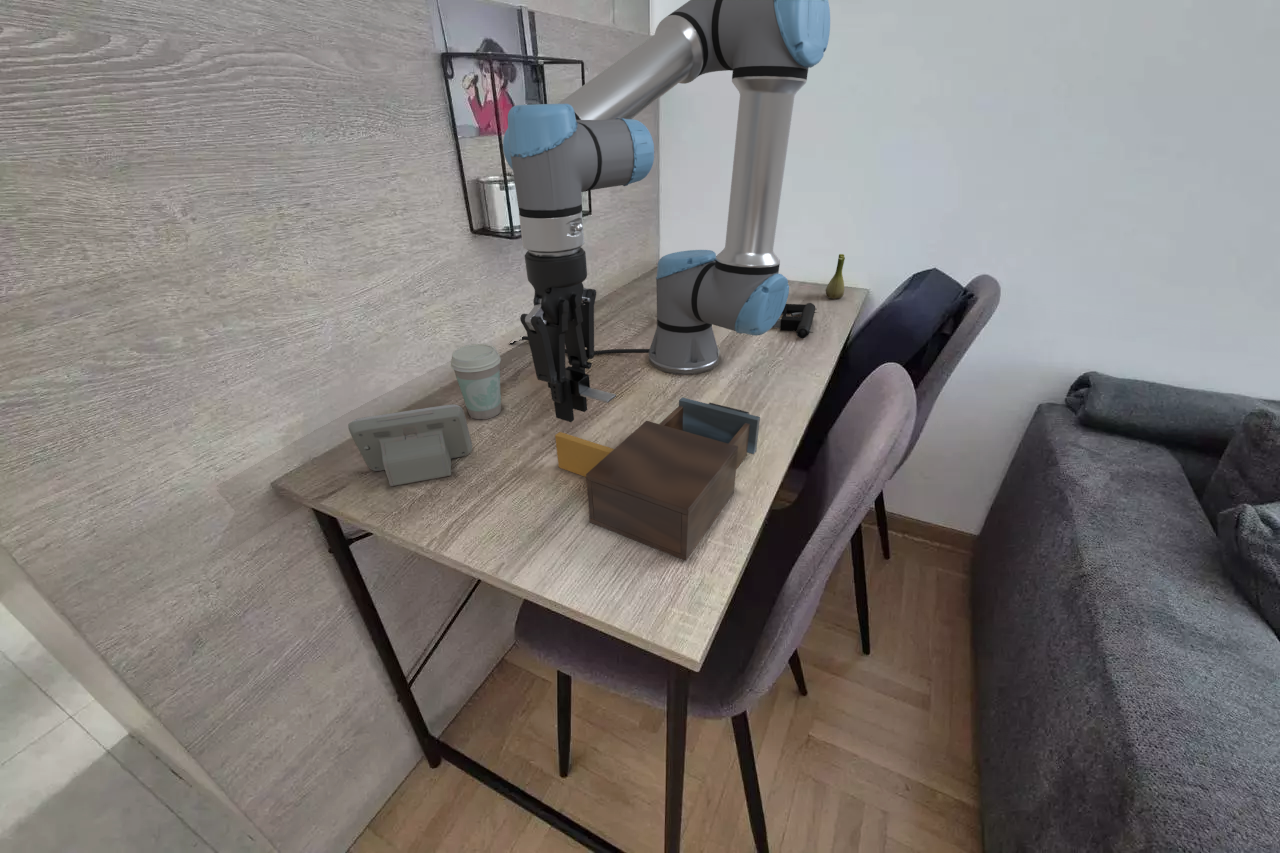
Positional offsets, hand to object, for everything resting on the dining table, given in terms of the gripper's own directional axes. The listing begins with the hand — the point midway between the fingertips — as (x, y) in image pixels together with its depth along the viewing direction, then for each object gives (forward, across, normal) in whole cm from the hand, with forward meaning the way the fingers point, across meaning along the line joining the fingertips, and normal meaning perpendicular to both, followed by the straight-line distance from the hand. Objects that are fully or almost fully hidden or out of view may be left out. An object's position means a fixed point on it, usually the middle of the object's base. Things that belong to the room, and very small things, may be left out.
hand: (571, 413), depth 79 cm
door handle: (+11, +76, -8) cm, 78 cm away
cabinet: (+10, -1, -16) cm, 19 cm away
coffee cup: (+10, +6, +26) cm, 29 cm away
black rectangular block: (-4, 0, -2) cm, 5 cm away
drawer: (+9, +12, -16) cm, 22 cm away
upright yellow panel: (+10, 0, -2) cm, 10 cm away
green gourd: (+12, +104, -14) cm, 105 cm away
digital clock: (+10, -12, +22) cm, 27 cm away
